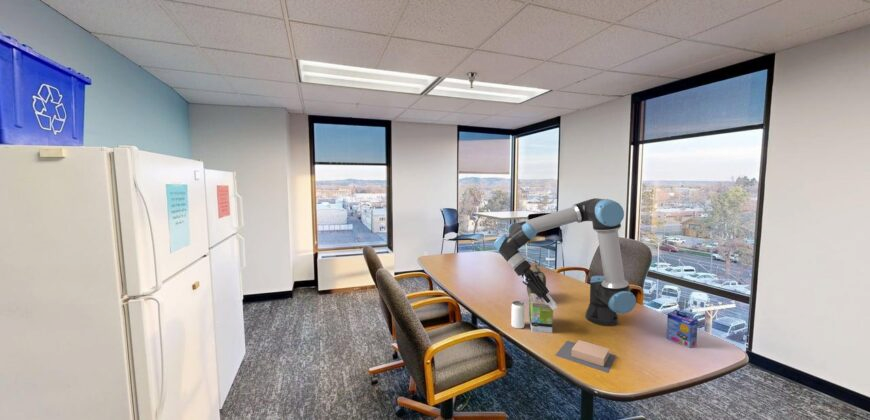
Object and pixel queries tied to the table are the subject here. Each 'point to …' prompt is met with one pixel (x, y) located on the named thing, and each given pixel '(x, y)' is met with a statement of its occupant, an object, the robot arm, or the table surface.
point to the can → (518, 315)
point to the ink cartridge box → (682, 329)
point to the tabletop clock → (539, 276)
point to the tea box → (540, 315)
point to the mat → (566, 354)
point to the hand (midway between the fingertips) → (555, 307)
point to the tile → (590, 352)
